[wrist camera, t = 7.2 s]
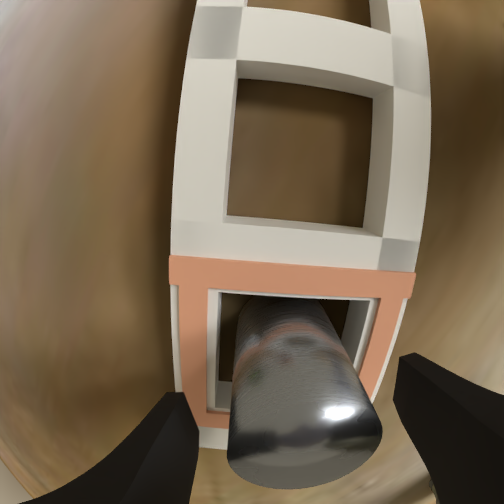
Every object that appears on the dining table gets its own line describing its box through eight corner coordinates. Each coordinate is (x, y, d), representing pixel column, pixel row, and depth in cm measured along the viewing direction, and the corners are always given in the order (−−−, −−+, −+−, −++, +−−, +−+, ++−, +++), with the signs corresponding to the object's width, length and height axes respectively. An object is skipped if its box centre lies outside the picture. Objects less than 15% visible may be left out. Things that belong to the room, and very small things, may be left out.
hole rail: (387, -52, 8) (401, -71, 6) (344, 422, 14) (353, 449, 12) (227, -78, 7) (225, -102, 5) (187, 419, 14) (180, 447, 12)
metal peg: (324, 279, 12) (392, 383, 5) (327, 356, 13) (371, 472, 6) (229, 292, 12) (210, 414, 6) (244, 368, 13) (241, 494, 7)
